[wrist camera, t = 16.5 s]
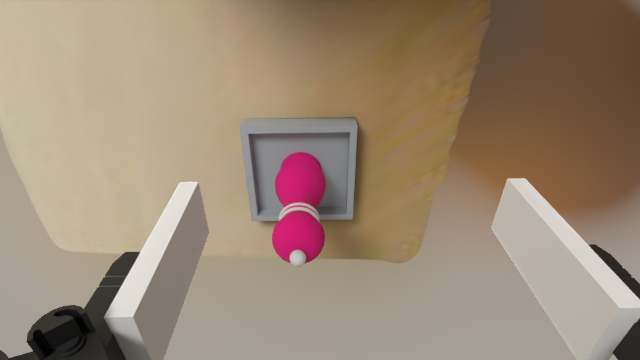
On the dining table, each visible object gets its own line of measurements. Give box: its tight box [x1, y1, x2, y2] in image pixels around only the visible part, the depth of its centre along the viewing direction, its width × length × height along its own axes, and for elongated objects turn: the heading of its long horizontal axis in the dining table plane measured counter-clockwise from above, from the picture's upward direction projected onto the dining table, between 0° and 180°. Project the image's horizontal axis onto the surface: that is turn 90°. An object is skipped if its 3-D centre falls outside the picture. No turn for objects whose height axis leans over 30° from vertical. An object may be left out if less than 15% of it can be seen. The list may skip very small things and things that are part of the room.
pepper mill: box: [272, 152, 326, 267], centre depth 46 cm, size 7×7×20 cm
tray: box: [240, 117, 358, 221], centre depth 55 cm, size 16×16×3 cm
